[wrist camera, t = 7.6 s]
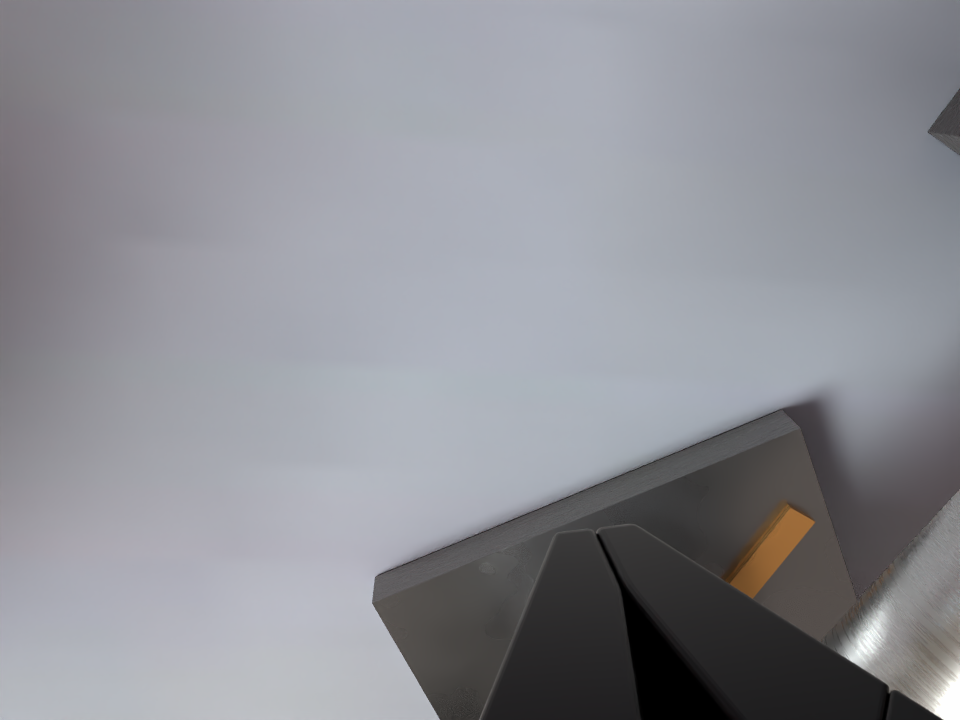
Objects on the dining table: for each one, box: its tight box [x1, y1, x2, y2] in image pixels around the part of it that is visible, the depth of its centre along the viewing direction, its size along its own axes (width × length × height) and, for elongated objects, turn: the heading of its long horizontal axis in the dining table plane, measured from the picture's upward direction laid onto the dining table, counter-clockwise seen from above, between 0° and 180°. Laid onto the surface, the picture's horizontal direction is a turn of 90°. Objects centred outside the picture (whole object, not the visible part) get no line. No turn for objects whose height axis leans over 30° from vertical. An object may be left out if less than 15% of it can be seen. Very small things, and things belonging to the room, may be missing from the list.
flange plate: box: [372, 410, 857, 720], centre depth 19 cm, size 10×10×4 cm
